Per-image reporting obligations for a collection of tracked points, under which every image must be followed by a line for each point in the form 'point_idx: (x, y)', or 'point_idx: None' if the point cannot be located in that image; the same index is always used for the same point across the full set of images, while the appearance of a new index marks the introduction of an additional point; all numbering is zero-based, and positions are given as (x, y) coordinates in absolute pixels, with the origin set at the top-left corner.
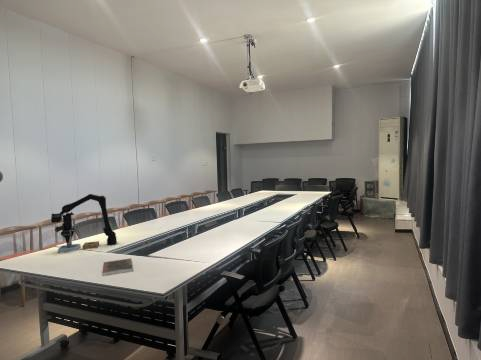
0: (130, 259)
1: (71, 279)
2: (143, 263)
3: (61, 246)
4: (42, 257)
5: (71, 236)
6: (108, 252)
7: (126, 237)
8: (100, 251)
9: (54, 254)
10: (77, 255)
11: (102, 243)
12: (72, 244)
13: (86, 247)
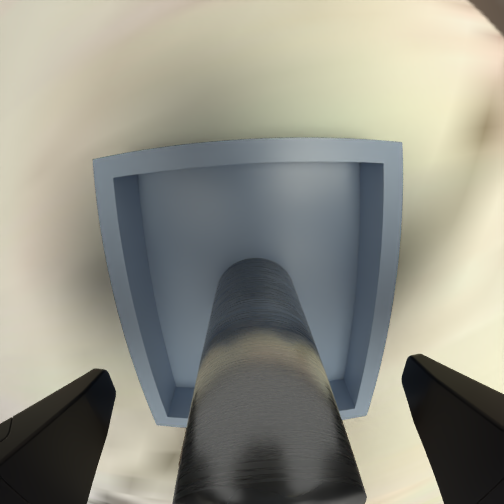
0: None
1: None
2: None
3: (322, 153)
4: (21, 54)
5: (438, 454)
6: (103, 496)
7: (427, 499)
8: (125, 486)
9: (80, 130)
10: (30, 387)
11: (380, 474)
12: (385, 331)
13: None
